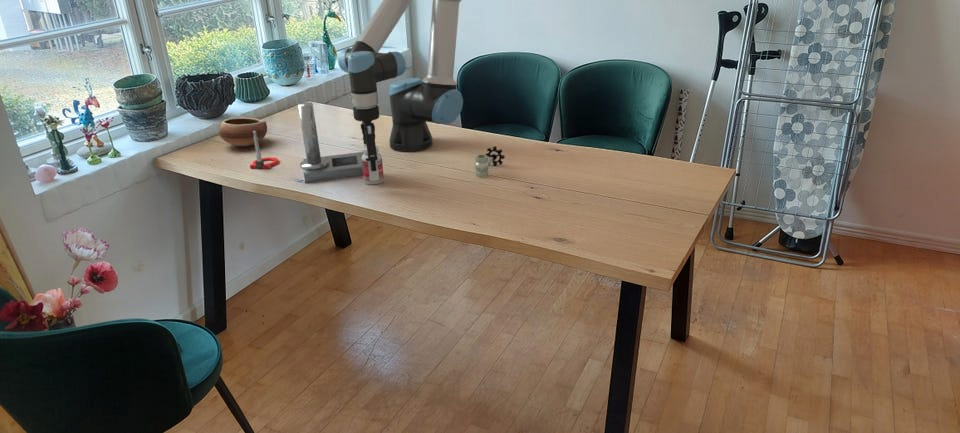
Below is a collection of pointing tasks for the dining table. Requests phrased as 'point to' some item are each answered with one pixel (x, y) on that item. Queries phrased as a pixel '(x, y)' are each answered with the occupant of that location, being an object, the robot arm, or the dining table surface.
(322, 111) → the dining table surface
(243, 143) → the bowl
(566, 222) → the dining table surface
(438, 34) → the robot arm
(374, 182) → the pill bottle
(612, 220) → the dining table surface
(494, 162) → the valve
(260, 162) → the tow hook
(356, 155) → the rosette post
